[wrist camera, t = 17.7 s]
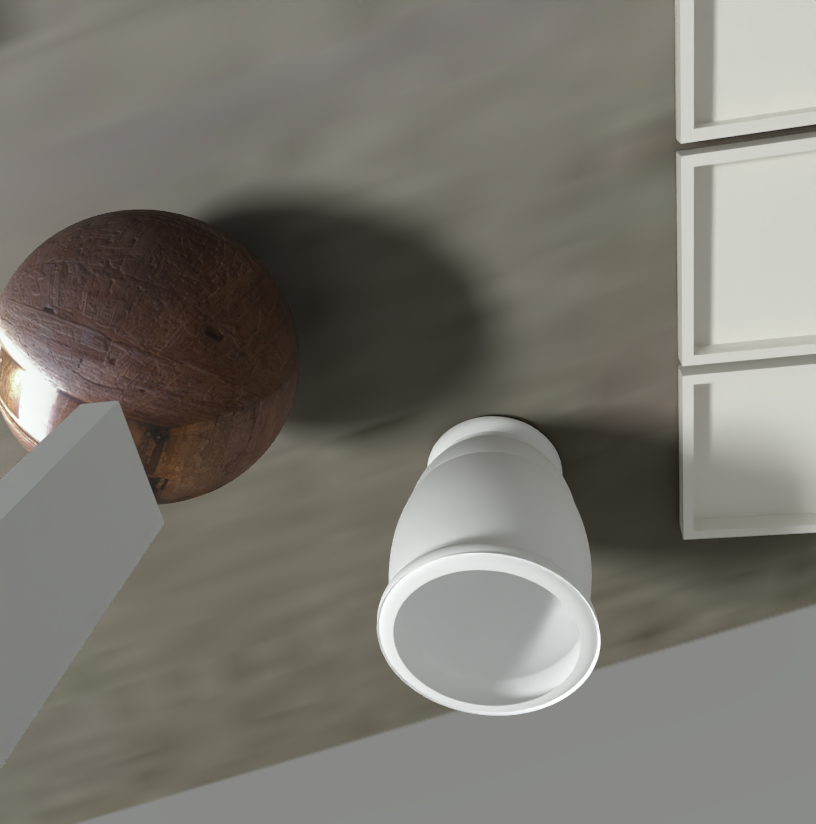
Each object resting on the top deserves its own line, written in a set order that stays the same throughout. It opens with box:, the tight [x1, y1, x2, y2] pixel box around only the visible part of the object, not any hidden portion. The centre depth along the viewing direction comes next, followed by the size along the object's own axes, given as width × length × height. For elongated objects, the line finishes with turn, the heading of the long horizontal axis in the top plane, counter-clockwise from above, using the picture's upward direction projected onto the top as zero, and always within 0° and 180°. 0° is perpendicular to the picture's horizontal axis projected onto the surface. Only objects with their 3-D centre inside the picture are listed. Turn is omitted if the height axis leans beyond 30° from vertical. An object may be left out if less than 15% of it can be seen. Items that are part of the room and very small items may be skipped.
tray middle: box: [676, 131, 816, 366], centre depth 40 cm, size 11×11×1 cm
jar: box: [377, 416, 600, 715], centre depth 43 cm, size 11×10×15 cm
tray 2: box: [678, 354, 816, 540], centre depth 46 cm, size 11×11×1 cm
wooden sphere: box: [0, 210, 299, 504], centre depth 40 cm, size 15×15×15 cm
